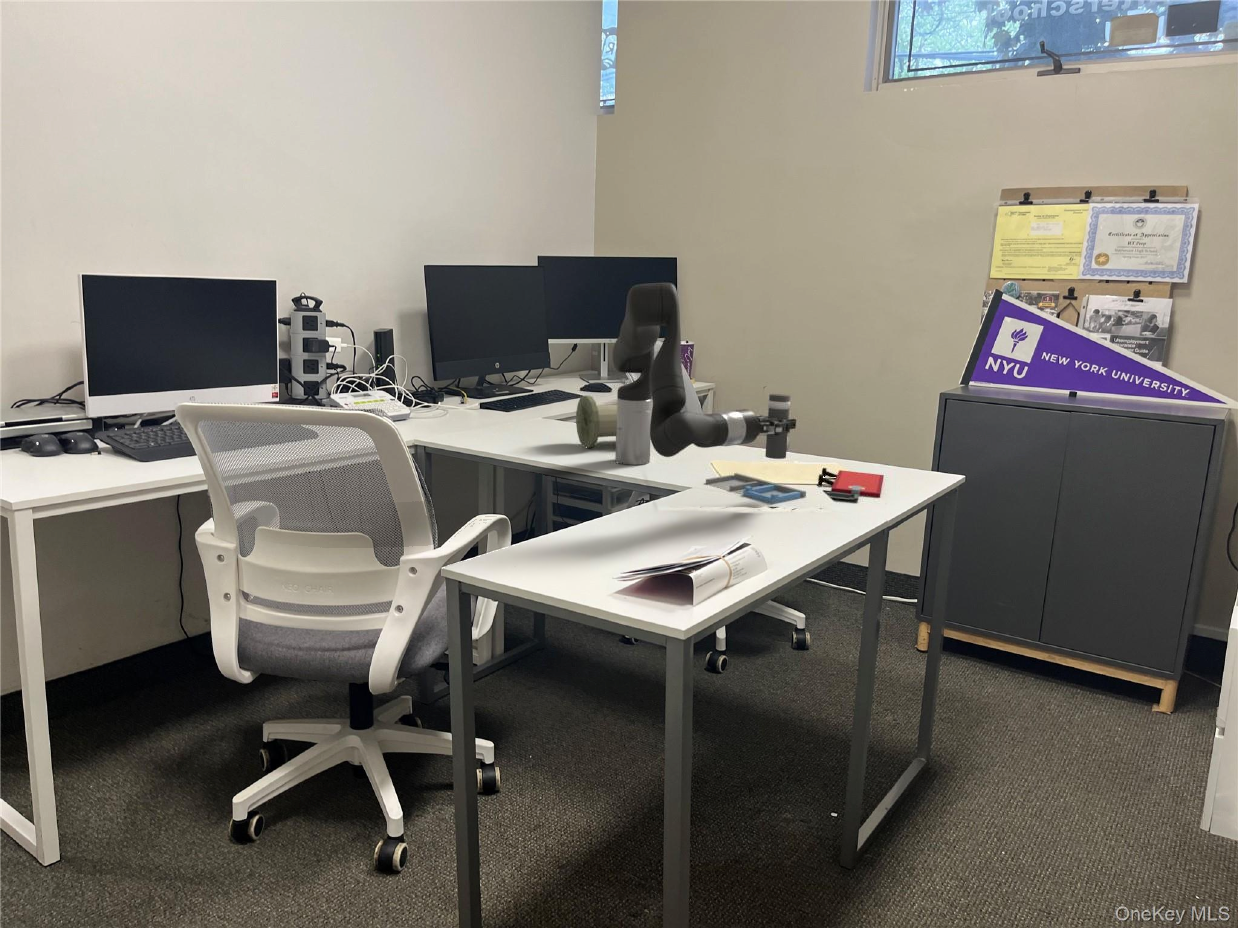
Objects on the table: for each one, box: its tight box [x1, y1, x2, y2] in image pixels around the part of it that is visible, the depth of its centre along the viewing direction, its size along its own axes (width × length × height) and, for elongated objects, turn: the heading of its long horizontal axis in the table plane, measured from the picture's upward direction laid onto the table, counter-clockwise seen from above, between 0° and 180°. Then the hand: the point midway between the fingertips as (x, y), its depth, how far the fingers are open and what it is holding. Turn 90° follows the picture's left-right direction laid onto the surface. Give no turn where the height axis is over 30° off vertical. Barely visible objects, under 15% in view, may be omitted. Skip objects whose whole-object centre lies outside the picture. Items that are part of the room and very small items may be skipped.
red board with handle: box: [817, 467, 885, 501], centre depth 218 cm, size 30×3×15 cm
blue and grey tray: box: [704, 472, 807, 510], centre depth 208 cm, size 22×11×3 cm, turn 38°
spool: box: [575, 394, 617, 449], centre depth 261 cm, size 16×15×15 cm
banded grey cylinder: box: [765, 393, 791, 460], centre depth 200 cm, size 5×5×14 cm
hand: (785, 421), depth 201 cm, fingers closed on banded grey cylinder, 4 cm apart
